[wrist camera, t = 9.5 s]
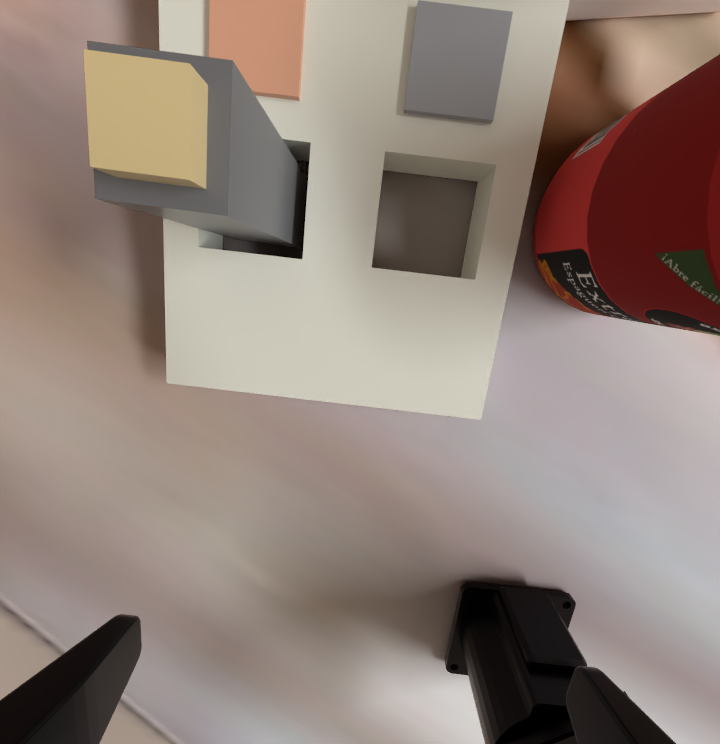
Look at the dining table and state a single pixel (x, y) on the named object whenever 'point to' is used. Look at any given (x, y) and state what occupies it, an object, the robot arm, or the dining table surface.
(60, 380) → the dining table surface
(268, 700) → the dining table surface
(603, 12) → the medicine bottle
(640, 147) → the canned food
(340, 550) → the dining table surface
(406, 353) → the socket board
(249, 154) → the plug
